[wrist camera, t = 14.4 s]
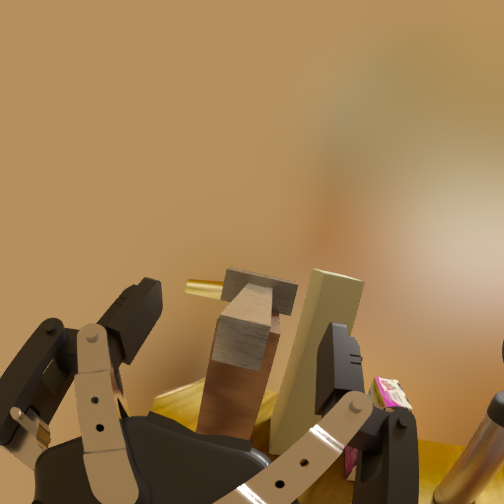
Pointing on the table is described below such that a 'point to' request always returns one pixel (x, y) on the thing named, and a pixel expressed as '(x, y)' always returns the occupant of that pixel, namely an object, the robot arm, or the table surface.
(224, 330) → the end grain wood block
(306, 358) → the beige tall block
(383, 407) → the candy bar box
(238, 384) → the wood grain post
